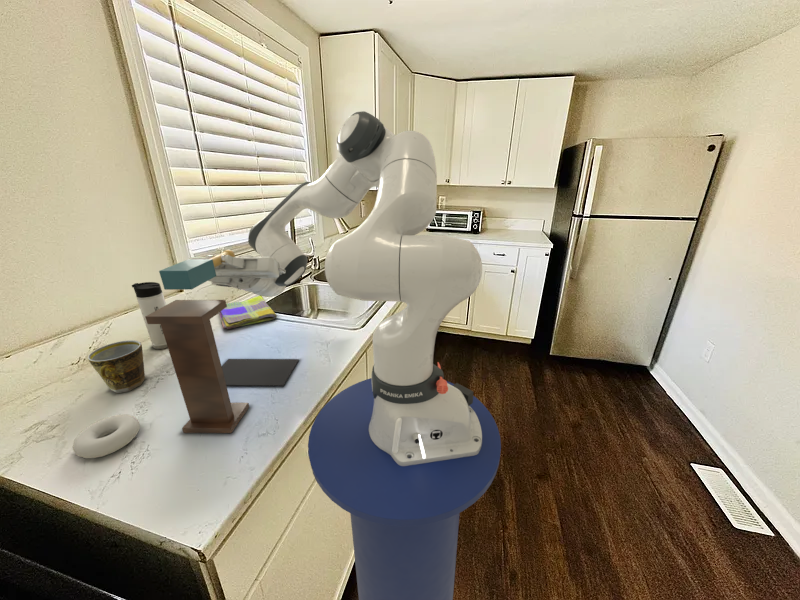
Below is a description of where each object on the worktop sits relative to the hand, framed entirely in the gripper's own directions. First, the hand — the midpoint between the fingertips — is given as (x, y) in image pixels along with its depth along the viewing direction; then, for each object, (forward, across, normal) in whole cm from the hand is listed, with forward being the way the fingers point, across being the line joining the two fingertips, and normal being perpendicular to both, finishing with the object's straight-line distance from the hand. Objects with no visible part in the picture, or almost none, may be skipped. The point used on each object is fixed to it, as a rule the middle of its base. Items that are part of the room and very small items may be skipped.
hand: (216, 258), depth 69 cm
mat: (-21, 0, -25) cm, 33 cm away
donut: (0, +18, -37) cm, 42 cm away
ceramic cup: (-15, +29, -29) cm, 44 cm away
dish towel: (-54, +20, -7) cm, 58 cm away
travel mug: (-34, +35, -18) cm, 52 cm away
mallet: (+2, 0, -4) cm, 4 cm away
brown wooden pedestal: (-5, 0, -34) cm, 35 cm away
